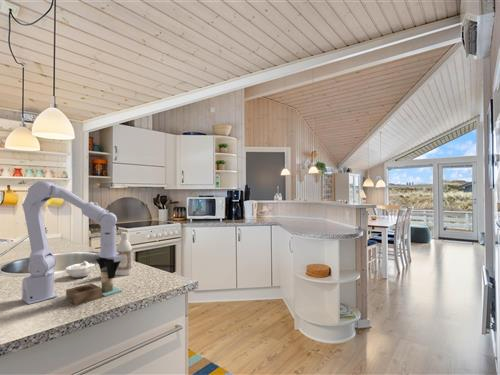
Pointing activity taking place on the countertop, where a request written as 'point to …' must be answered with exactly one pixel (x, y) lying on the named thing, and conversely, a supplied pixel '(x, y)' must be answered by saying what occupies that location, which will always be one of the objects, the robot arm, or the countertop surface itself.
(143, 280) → the countertop surface
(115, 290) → the teal mat
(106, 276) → the maple plug
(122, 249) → the bath foam
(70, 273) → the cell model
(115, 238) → the robot arm
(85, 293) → the walnut block
